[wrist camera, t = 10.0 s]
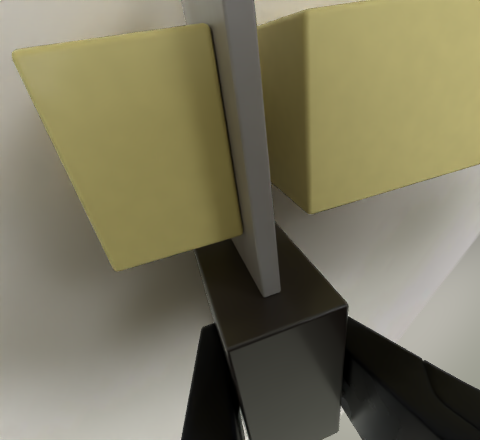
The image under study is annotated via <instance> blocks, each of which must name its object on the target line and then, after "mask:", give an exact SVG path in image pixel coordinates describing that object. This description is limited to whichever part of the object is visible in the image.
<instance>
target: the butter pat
mask: <svg viewBox="0 0 480 440" xmlns="http://www.w3.org/2000/svg"><path fill="white" fill-rule="evenodd" d="M12 60H13V62H14V64H15V66H16V68H17V70H18V72H19V75H20V77H21V79H22V81H23V83H24V85H25V87H26V89H27V91H28V93H29V95H30V97H31V99H32V102H33V104H34V106H35V108H36V110H37V112H38V114H39V116H40V118H41V120H42V122H43V124H44V127H45V129H46V131H47V133H48V135H49V137H50V139H51V141H52V143H53V145H54V147H55V149H56V151H57V154H58V156H59V158H60V160H61V162H62V164H63V166H64V168H65V170H66V172H67V174H68V176H69V179H70V181H71V183H72V185H73V187H74V189H75V191H76V193H77V195H78V197H79V199H80V201H81V203H82V206H83V208H84V210H85V212H86V214H87V216H88V218H89V220H90V222H91V224H92V226H93V228H94V231H95V233H96V235H97V237H98V239H99V241H100V243H101V245H102V247H103V249H104V251H105V253H106V255H107V258H108V260H109V262H110V264H111V266H112V268H113V269H114V270H115V271H116V272H119V271H123V270H126V269H129V268H133V267H136V266H139V265H143V264H146V263H150V262H153V261H156V260H160V259H163V258H166V257H170V256H173V255H177V254H180V253H183V252H187V251H190V250H193V249H197V248H200V247H203V246H207V245H210V244H214V243H217V242H220V241H224V240H227V239H230V238H234V237H237V236H240V235H242V234H243V226H242V220H241V214H240V208H239V201H238V195H237V189H236V183H235V177H234V170H233V164H232V158H231V152H230V146H229V139H228V133H227V127H226V121H225V115H224V108H223V102H222V96H221V90H220V84H219V77H218V71H217V65H216V59H215V53H214V46H213V40H212V34H211V29H210V27H209V26H208V24H205V23H198V24H191V25H184V26H177V27H170V28H163V29H156V30H149V31H142V32H134V33H127V34H120V35H113V36H106V37H99V38H92V39H85V40H78V41H71V42H63V43H56V44H49V45H42V46H35V47H28V48H21V49H16V50H15V51H13V52H12Z"/></svg>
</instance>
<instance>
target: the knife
mask: <svg viewBox="0 0 480 440" xmlns="http://www.w3.org/2000/svg"><path fill="white" fill-rule="evenodd" d="M181 2H182V7H183V13H184V18H185V23H186V25H191V24H198V23H205V24H208V26H209V27H210V29H211V34H212V40H213V46H214V53H215V59H216V65H217V71H218V77H219V84H220V90H221V96H222V102H223V108H224V115H225V121H226V127H227V133H228V139H229V146H230V152H231V158H232V164H233V170H234V177H235V183H236V189H237V195H238V201H239V208H240V214H241V220H242V226H243V234H242V235H240V236H237V237H234V238H230V239H227V240H224V241H220V242H217V243H214V244H210V245H207V246H203V247H200V248H197V249H194V252H195V256H196V259H197V263H198V267H199V270H200V274H201V277H202V281H203V284H204V288H205V292H206V295H207V299H208V302H209V306H210V310H211V313H212V317H213V320H214V323H215V325H216V328H217V331H218V335H219V338H220V341H221V344H222V348H223V351H224V354H225V357H226V361H227V364H228V367H229V371H230V375H231V378H232V382H233V386H234V389H235V393H236V397H237V400H238V404H239V408H240V413H241V416H242V420H243V423H244V426H245V430H246V433H247V436H248V440H322V439H324V438H326V437H328V436H331V435H332V434H335V433H337V432H338V431H339V419H340V407H341V395H342V382H343V369H344V357H345V344H346V331H347V318H348V304H347V302H346V301H345V300H344V299H343V298H342V297H341V295H340V294H339V293H338V292H337V291H336V290H335V289H334V288H333V286H332V285H331V284H330V283H329V282H328V281H327V280H326V279H325V277H324V276H323V275H322V274H321V273H320V272H319V271H318V270H317V268H316V267H315V266H314V265H313V264H312V263H311V262H310V261H309V259H308V258H307V257H306V256H305V255H304V254H303V253H302V252H301V250H300V249H299V248H298V247H297V246H296V245H295V244H294V243H293V241H292V240H291V239H290V238H289V237H288V236H287V235H286V234H285V232H284V231H283V230H282V229H281V228H280V227H279V226H278V225H277V224H276V222H275V221H274V211H273V200H272V189H271V178H270V167H269V156H268V145H267V134H266V123H265V112H264V102H263V91H262V80H261V69H260V58H259V47H258V36H257V25H256V14H255V3H254V0H181Z"/></svg>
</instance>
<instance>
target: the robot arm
mask: <svg viewBox="0 0 480 440" xmlns="http://www.w3.org/2000/svg"><path fill="white" fill-rule="evenodd" d="M341 406H342V408H343V410H344V411H345V413H346V414H347V416H348V418H349V419H350V421H351V422H352V424H353V426H354V427H355V429H356V430H357V432H358V433H359V435H360V437H361V438H362V440H480V390H479V389H477V388H475V387H473V386H471V385H469V384H467V383H465V382H463V381H461V380H460V379H458V378H456V377H454V376H452V375H451V374H449V373H447V372H445V371H443V370H441V369H440V368H438V367H436V366H434V365H433V364H431V363H429V362H427V361H426V360H424V361H423V360H422V358H420V357H419V356H417V355H415V354H413V353H412V352H410V351H408V350H406V349H405V348H403V347H401V346H399V345H398V344H396V343H394V342H392V341H391V340H389V339H387V338H385V337H384V336H382V335H380V334H378V333H377V332H375V331H373V330H371V329H370V328H368V327H366V326H364V325H363V324H361V323H359V322H357V321H356V320H354V319H352V318H351V317H349V316H348V318H347V331H346V344H345V357H344V369H343V382H342V395H341ZM181 440H245V436H244V430H243V425H242V419H241V414H240V408H239V404H238V400H237V397H236V393H235V389H234V386H233V382H232V378H231V375H230V371H229V367H228V364H227V361H226V357H225V354H224V351H223V348H222V344H221V341H220V338H219V335H218V331H217V328H216V325H215V323H212V324H209V325H207V326H204V327H202V329H201V333H200V339H199V344H198V350H197V355H196V361H195V366H194V372H193V377H192V383H191V388H190V394H189V399H188V405H187V410H186V415H185V421H184V426H183V432H182V437H181Z"/></svg>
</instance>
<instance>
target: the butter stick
mask: <svg viewBox="0 0 480 440" xmlns="http://www.w3.org/2000/svg"><path fill="white" fill-rule="evenodd" d="M257 36H258V47H259V58H260V69H261V80H262V91H263V102H264V112H265V123H266V134H267V145H268V156H269V167H270V178H271V183H273V184H274V185H275V186H276V187H277V188H278V189H279V190H281V191H282V192H283V193H284V194H285V195H286V196H288V197H289V198H290V199H291V200H292V201H293V202H295V203H296V204H297V205H298V206H299V207H300V208H302V209H303V210H304V211H305V212H306V213H307V214H315V213H318V212H322V211H325V210H328V209H332V208H335V207H338V206H342V205H345V204H348V203H352V202H355V201H358V200H362V199H365V198H368V197H372V196H375V195H378V194H382V193H385V192H388V191H392V190H395V189H398V188H402V187H405V186H408V185H412V184H415V183H418V182H422V181H425V180H428V179H432V178H435V177H438V176H442V175H445V174H448V173H452V172H455V171H458V170H462V169H465V168H468V167H472V166H475V165H478V164H480V0H366V1H359V2H352V3H345V4H338V5H331V6H325V7H318V8H311V9H306V10H303V11H300V12H297V13H294V14H291V15H288V16H285V17H282V18H280V19H277V20H274V21H271V22H268V23H265V24H262V25H259V26H257Z"/></svg>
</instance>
